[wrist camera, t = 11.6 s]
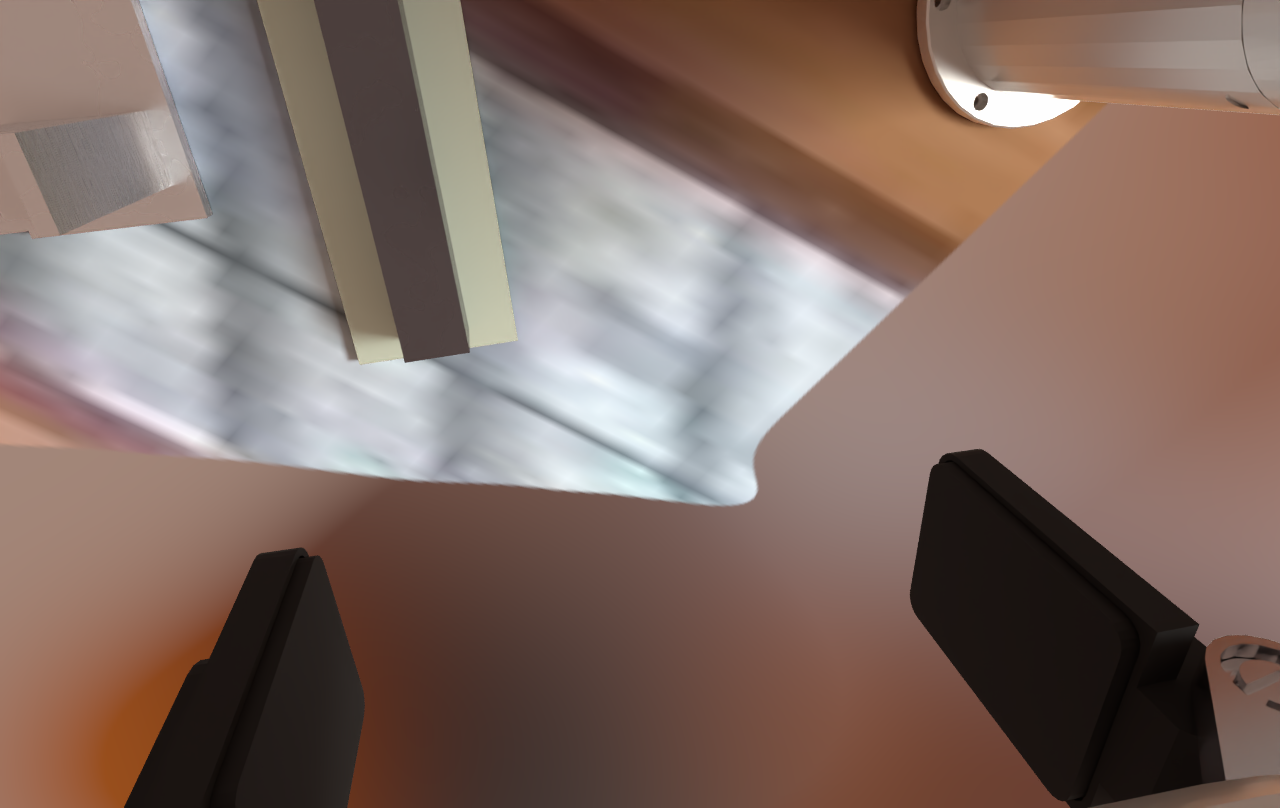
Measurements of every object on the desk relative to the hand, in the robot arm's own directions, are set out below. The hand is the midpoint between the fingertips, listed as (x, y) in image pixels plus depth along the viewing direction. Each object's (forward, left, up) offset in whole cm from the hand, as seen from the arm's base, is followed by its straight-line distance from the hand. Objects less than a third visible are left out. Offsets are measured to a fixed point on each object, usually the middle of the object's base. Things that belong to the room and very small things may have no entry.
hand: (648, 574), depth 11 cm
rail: (+5, -7, -27) cm, 28 cm away
